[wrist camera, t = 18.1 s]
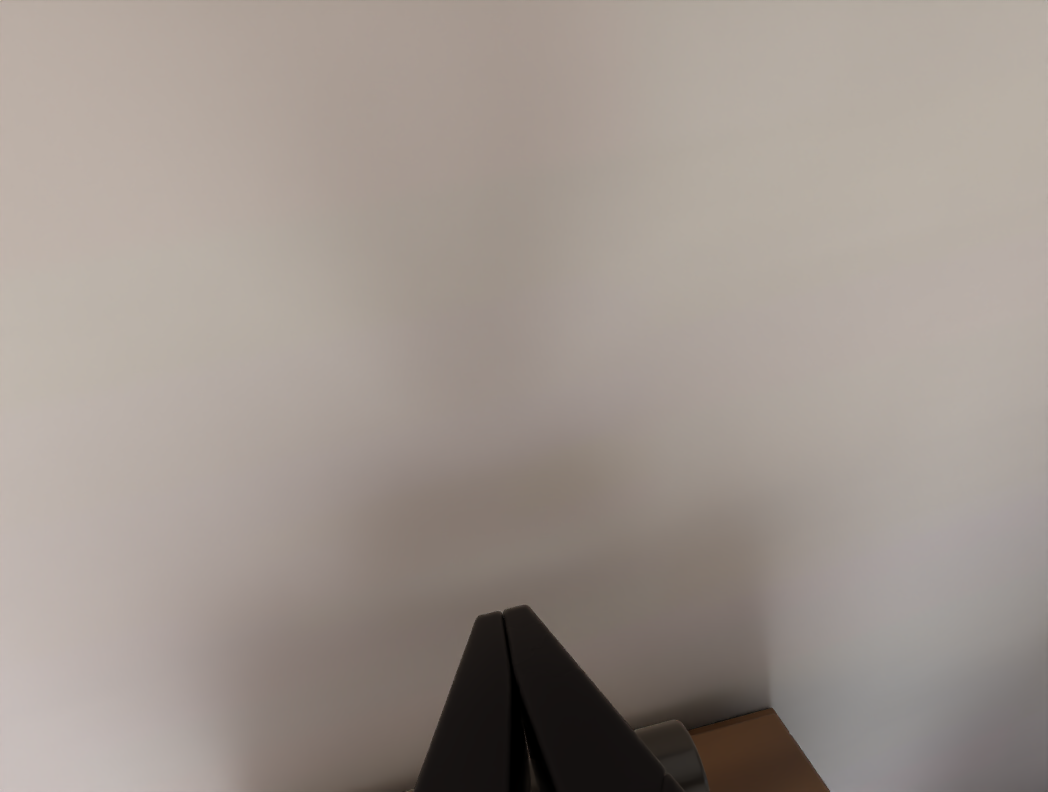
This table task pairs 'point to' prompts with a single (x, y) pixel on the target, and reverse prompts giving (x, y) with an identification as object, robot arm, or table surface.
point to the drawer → (730, 757)
